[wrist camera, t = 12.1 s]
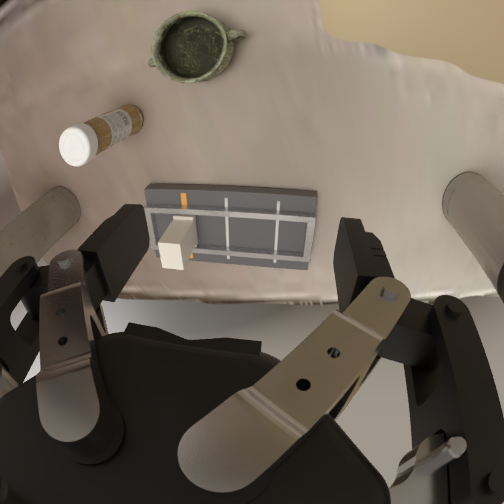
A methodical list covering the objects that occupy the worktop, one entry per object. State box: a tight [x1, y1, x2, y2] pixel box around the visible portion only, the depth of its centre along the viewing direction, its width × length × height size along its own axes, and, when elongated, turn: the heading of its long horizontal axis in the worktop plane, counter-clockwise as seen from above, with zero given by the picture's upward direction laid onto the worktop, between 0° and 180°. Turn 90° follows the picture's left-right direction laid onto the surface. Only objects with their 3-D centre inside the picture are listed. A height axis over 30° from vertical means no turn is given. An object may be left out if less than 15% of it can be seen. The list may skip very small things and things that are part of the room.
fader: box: [158, 214, 198, 270], centre depth 40 cm, size 3×5×7 cm, turn 179°
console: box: [144, 184, 317, 270], centre depth 43 cm, size 24×12×3 cm, turn 89°
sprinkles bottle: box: [59, 105, 143, 166], centre depth 31 cm, size 5×5×13 cm
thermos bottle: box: [0, 186, 80, 277], centre depth 35 cm, size 8×8×28 cm
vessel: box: [148, 11, 246, 83], centre depth 28 cm, size 12×9×6 cm
